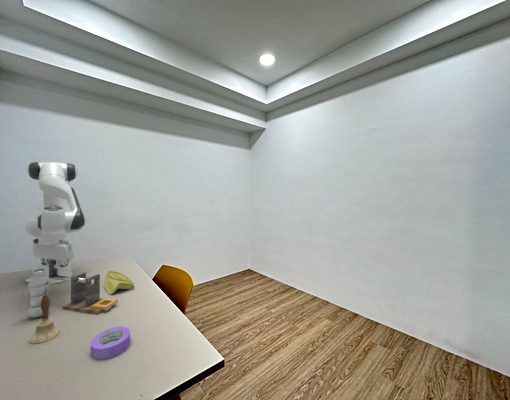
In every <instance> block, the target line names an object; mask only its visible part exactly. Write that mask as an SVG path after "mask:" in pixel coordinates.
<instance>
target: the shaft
mask: <svg viewBox="0 0 510 400" xmlns="http://www.w3.org/2000/svg"><path fill="white" fill-rule="evenodd" d="M54 265H56V260H50V261H49V278H51V279H57V280H65V281H64V282H71V277H69V276H61V275H58V268H54ZM86 278H87V277H86ZM86 278H80V277H79V278H77V283H78V282H80V283H85V279H86Z"/></svg>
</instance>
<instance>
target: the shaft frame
mask: <svg viewBox="0 0 510 400" xmlns="http://www.w3.org/2000/svg"><path fill="white" fill-rule="evenodd" d="M77 278H86V279H85V283H80V282H77ZM92 281H93V283H92ZM100 285H101V275H100V274H99V273H96V274H94V275H91V276H89V277H87V272H81V273H78V274H76V275H72V277H71V281H70V302H68V303H66V304H64V305H62V306H61V307H62V308H61V309H62V310H65V311H72V312H77V313H84V314H90V315H100V314H102V312H104V311H105V310H104V309H94V308H92V305H94V304H96V303H97V302H99V301H101V300H103V299H104V298H102V297H100V295H101V294H100V293H101V291H100V289H101V287H100ZM107 304H108V303H103V304H102V305H107ZM115 304H117V303H115ZM115 304H114V305H115Z"/></svg>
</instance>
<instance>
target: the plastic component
mask: <svg viewBox="0 0 510 400" xmlns="http://www.w3.org/2000/svg"><path fill="white" fill-rule="evenodd" d="M103 284H104V289H105V291H106V292H107V293H108V295H113V294H115V293H116V292H117V291H118V289H123V290H131V289H133V288H134V285H135V282H134V281H132V280H131V278H129V277H128V275H126V274H124V273H122V272H121V271H116V270H109V271H107V273H106V275H105V279H104V282H103Z"/></svg>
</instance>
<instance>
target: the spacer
mask: <svg viewBox="0 0 510 400" xmlns="http://www.w3.org/2000/svg"><path fill="white" fill-rule="evenodd" d="M102 299H103V300H101V301H99V302H97V303H96V304H94V305H92V308H94V309H104V311H105V310H108V309H109V308H111V307H112V306H114V305H115V303H116V304H117V303H118V302H119V300H118V299H117V298H116V299H114V298H102ZM103 303H108V304H107V305H102V304H103Z"/></svg>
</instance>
